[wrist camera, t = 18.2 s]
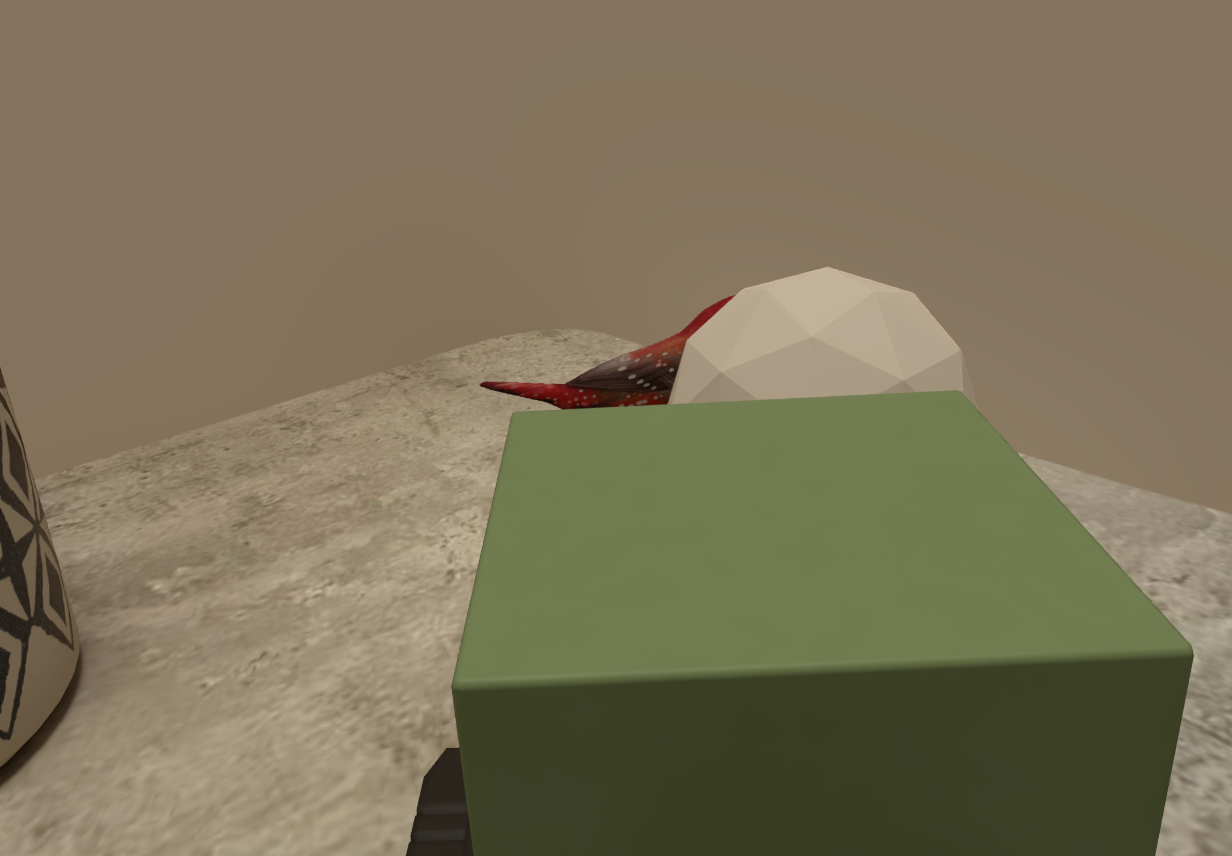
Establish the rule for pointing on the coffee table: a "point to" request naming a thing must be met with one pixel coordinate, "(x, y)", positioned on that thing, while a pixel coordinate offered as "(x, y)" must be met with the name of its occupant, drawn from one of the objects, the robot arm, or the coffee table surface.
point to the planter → (28, 600)
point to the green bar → (804, 642)
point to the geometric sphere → (819, 344)
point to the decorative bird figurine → (619, 376)
